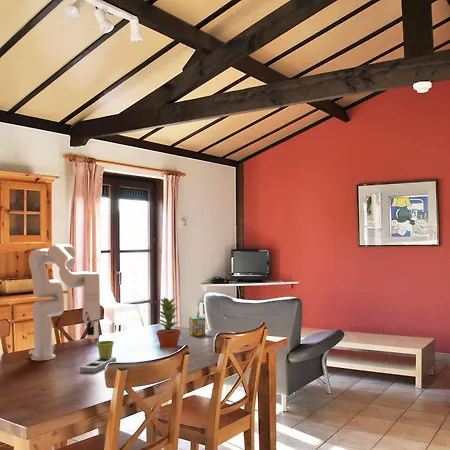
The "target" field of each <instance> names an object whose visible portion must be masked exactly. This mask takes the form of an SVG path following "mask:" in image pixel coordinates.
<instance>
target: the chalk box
mask: <svg viewBox="0 0 450 450" xmlns="http://www.w3.org/2000/svg"><path fill="white" fill-rule="evenodd" d="M200 314H201V313H200V312H198V311H197V312H196V316H189V317H188V321H189V322H188V323H189V324H188V334H189V335H190V336H192V337H200V336H206V318H205V317H204V316H202V315H201V316H200Z"/></svg>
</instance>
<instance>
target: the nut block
mask: <svg viewBox="0 0 450 450" xmlns="http://www.w3.org/2000/svg"><path fill="white" fill-rule="evenodd" d="M90 323H91V322H90ZM98 323H99V322H98V321H95V320H94V321H93V325H92V327H93V335H87V334H86V339H87V340H88V339H90V340H91V339H92V340H95V339H98V338H99V325H98Z"/></svg>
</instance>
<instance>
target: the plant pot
mask: <svg viewBox="0 0 450 450" xmlns="http://www.w3.org/2000/svg"><path fill="white" fill-rule="evenodd" d="M114 343H115V342H114V340H101V341H97V342H96V345H97V349H98V355H99V358H101V357H112V356H113V355H112V353H113V346H114Z"/></svg>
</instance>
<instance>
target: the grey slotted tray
mask: <svg viewBox="0 0 450 450" xmlns="http://www.w3.org/2000/svg"><path fill="white" fill-rule="evenodd" d="M110 362H116V363H117V357H112V356H111V357H101V358H100V357H98V358H96V359H95V360H92V361H90V362H89V363H86V364H84V365H82V366H80V367H79V373H83V374H84V373H85V374H96V373H98V372H100V371H102V370H104V369H105V366H106V365H107V364H108V363H110Z"/></svg>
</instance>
